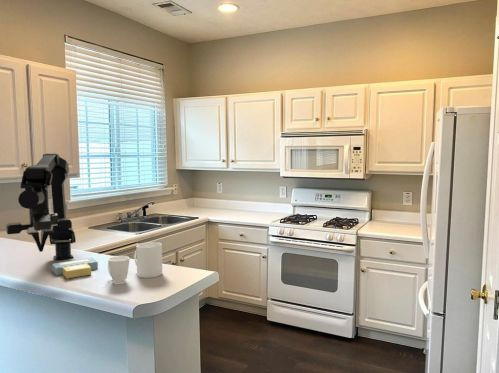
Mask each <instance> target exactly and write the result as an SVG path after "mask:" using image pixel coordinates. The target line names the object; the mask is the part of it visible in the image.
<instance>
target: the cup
mask: <svg viewBox="0 0 499 373" xmlns="http://www.w3.org/2000/svg"><path fill="white" fill-rule="evenodd" d="M130 258H131V257H129V255H128V256H127V255H117V256H111V257H109V258H107V260H108V262H107V270H108V271H107V272H108V273H109V276H110V278H111V279H112V284H113V285H123V284H125V283H127V278H128V273H129V266H130Z"/></svg>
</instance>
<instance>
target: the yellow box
mask: <svg viewBox="0 0 499 373" xmlns="http://www.w3.org/2000/svg"><path fill="white" fill-rule="evenodd" d="M62 275H63V276H64V278H65V279H72V278H78V277H79V278H80V277H83V276H90V275H92V270H91V267H90V266H89V265H88V264H81V265H75V266H68V267H63V274H62Z"/></svg>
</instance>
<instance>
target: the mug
mask: <svg viewBox="0 0 499 373" xmlns="http://www.w3.org/2000/svg"><path fill="white" fill-rule="evenodd" d="M135 248H136V249H135V251H134V255H133V256H134V263H135V265H136V274H137V276H138V277H139V278H143V279H152V278H156V277H157V278H158V277H159V276H161V275H162V274H163V245H162V243H161V242H158V241H157V242H156V241H148V242H142V243H138V244H136V247H135Z"/></svg>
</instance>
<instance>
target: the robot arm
mask: <svg viewBox="0 0 499 373" xmlns="http://www.w3.org/2000/svg"><path fill="white" fill-rule="evenodd" d="M69 167H70V166H69V163H68V161H67V160H66V159H64V158H63V157H60V155H59V154H58V153H43V154H42V158H41V159H40V160H39V161H38V162H37V163H36V164H34V165H29V166H27V167H26V168H25V169H24V170H23V172H22V176H21V177H22V178H21V181H20V189H24V190H23V191H22V192H21V193H19V195H18V198H17V201H18V204H19V205H20V207H22V208H24V209H28V212H29V213H28V215H29V223H25V224H22V223H21V222H19V221H17V222H9V223H7V224H6V225H5V232H6V235H15V234H16V235H17V234H21V232H22V231H26V233H27V235H29V236H31V237H32V238H33V240H34V242H35V245H36V247H37V249H38V251H39V253H41V252H42V253H43V251H44V248H45V245H46V242H47V239H48V238H49V243H50V244H49V245H54V247H55V249H54V250H55V255H53V258H54V259H55V260H56V261H59V260H60V261H61V260H66V259H73V258H74V256H73V254H72V249H71V245H72V244H73V243H76V241H77V240H76V238H77V237H76V234H75V231H74V229H73V222H72V220H71V219H69V218H67V209H66V196H65V194H66V193H65V182H66V180H67V178H68V176H69V175H68V174H69V173H70V168H69ZM50 186H51V197H52V209H53V211H52V212H53V213H51V214H50V207H49V189H48V188H50ZM39 231H40V233H39Z"/></svg>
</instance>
